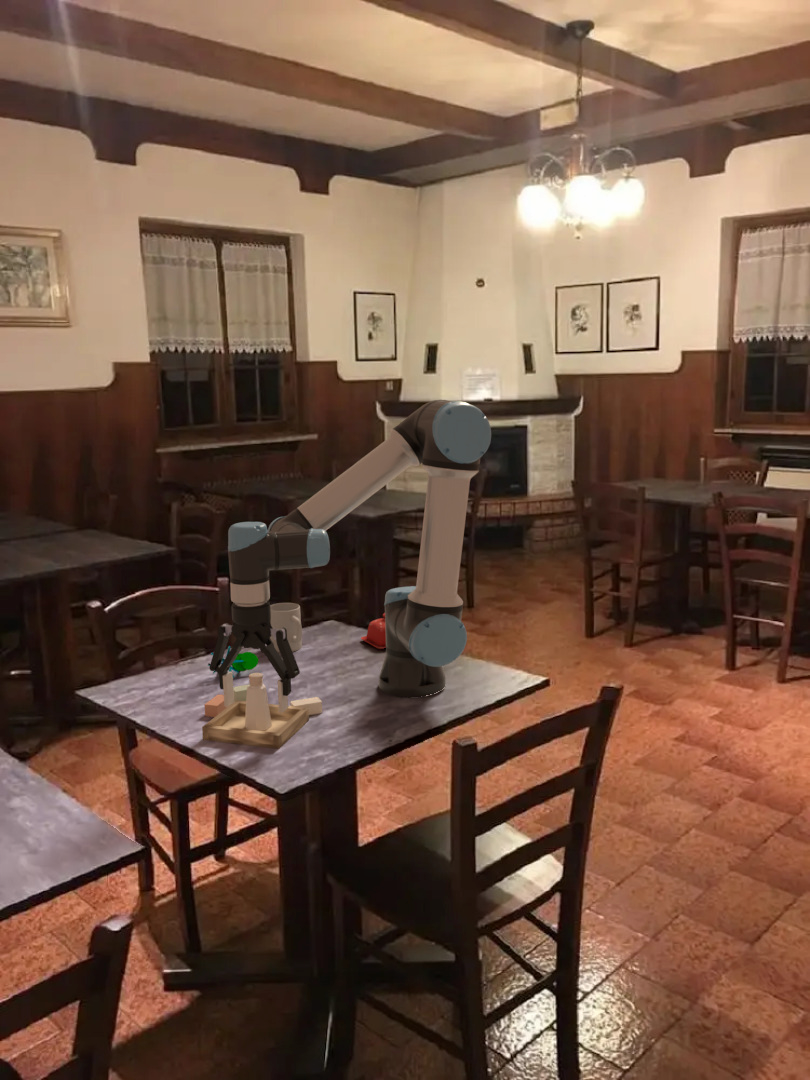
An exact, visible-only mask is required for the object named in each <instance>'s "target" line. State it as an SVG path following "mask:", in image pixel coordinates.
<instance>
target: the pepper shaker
mask: <svg viewBox="0 0 810 1080" xmlns="http://www.w3.org/2000/svg"><path fill="white" fill-rule="evenodd" d="M263 676H264V674H263V673H260V672H252V673H249V675H248V680H249V681H248V683H249V684H250V686H248V687H247V695H246V713H245V727H246V729H249V730H257V731H264V730H267V729H268V728H270V727H271V726H272V723H271V717H270V711H269V704H270V703H269V698H268V693H267V687H266V685H265V684H264V679H263Z"/></svg>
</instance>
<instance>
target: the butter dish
mask: <svg viewBox="0 0 810 1080" xmlns="http://www.w3.org/2000/svg"><path fill="white" fill-rule="evenodd" d="M382 617H383V618H382ZM382 617H381V618H377V619H374V620H372V621H370V622H369V624H368V627H367V633H366V635H365V636H361V637H360V639H361V640H362V641H363V642H366V643H368V644H370V645H371V646H373V647H374V648H375V649H379V650H384V648H386V629H385V612H384V613H383V614H382Z"/></svg>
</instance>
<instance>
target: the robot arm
mask: <svg viewBox="0 0 810 1080" xmlns="http://www.w3.org/2000/svg"><path fill="white" fill-rule="evenodd" d="M491 439H492V429H491V423H490V422H489V419H488V418H487V416H486V415H485V413H484V412H483V411H482V410H481V409H480V408H479V407H477V406H475V405H473V404H470V403H468V402H465V401H462V400H460V401H458V400H456V401H455V400H446V399H435V400H432V401H429V402H427V403H425V404H423V405H422V406H420V407H419V408H418V409H416V410H415V411H414V412H412V413H411V414H410V415H408V416H407V417H406V418H404V420H402V421H401V422H400V423H399V424H397V425H395V427H393V428H392V429H391V430H390V433H389V437H388V438H387V439H386V440H384V441H383V442H381V443H380V444H379V445H377V447H375V448H374V449H372V450H371V451H370V452H368V453H367V454H366V455H364V456H363V457H362V458H361V459H359V460H358V461H357V462H355V463H354V464H353V465H352V466H350V467H348V468H347V469H346V470H345V471H343V472H342V473H341V474H340V475H338V476H337V477H336V478H334V479H333V480H332V481H331V482H329V483H328V484H327V485H326V486H324V487H323V488H321V489H320V490H319V491H317V492H316V493H315V494H313V495H312V496H311V497H310V498H308V499H307V500H306V501H304V502H303V503H302V504H301V505H299V506H297V507H296V509H294V510H292V511H291V512H290V513H288V514H287V515H285V516H280V517H277V518H275V519H274V520H272V522H270V524H269V525H268V527H267V524H266V523H264V522H262V521H242V522H237V523H234V524H232V525H230V527H229V528H228V531H227V532H228V533H227V537H228V538H227V539H228V541H227V544H228V545H227V551H228V566H229V569H228V570H229V580H230V581H229V582H230V583H229V585H230V600H231V602H233V603H232V604H231V620H232V625H231V624H229V623H227V622H225V623H223V624H221V625H220V626H218V628H217V634H218V635H217V637H218V638H217V641H216V645H215V648H214V651H213V653H214V654H213V655H212V658H211V661H210V666H208V667H209V671H210V672H213V671H216V672H215V673H217V674H218V680H219V681H218V682H219V688H220V689H219V690H223V695H224V707H228V706H230V705H231V704H233V703H234V702H235V701H234V691H233V687H234V678H233V675H234V673H233V671H232V672H230V671H229V668H230V667H231V666H232V663H233V662H234V660H235V659H236V657H237V655H238V654H239V653H240V652H241V651H242V649H250V648H251V649H254V650H260V652H261V653H262V654H264V656H265V657H266V658H267V660H268V662H269V663H270V664H271V666H272V667H273V669H274V671H275V672H276V674H277V675H278V676H279V679H278V680H277V698H278V699H277V701H278V704H277V705H279V713H283V712H284V711H285V710H286V709H287V708H288V706H289V701H288V700H289V698H288V697H289V696H290V694H291V693H292V680H293V679H295V678H296V677H297V676H298V675H300V673H301V671H300V668H299V666H298V662H297V661H296V658H295V655H294V652H292V650H291V647H290V645H289V642H288V640H287V629H286V628H284V627H283V628H281V629H273V628H272V626H271V607H270V605H271V602H270V601H269V600H270V598H271V592H270V591H271V590H270V571H280V570H281V571H282V570H293V569H294V570H296V569H306V568H307V569H309V568H310V569H314V568H318V567H323V566H327V565H328V563H329V562H330V556H331V546H330V543H331V542H330V539H329V538H330V537H329V535H328V532H327V530H328V529H330V528H331V527H333V526H334V525H335V524H337V523H338V522H339V521H341V520H342V519H343V518H345V517H346V516H347V515H348V514H349V513H351V512H353V510H355V509H356V508H358V507H359V506H360V505H362V504H363V503H364V502H366V501H367V500H368V499H370V497H372V496H373V495H374V494H376V493H377V492H378V491H380V490H381V489H382V488H384V487H385V486H387V485H388V484H389V483H390V482H391V481H393V480H394V479H395V478H397V477H398V476H399V475H401V474H402V473H403V472H405V471H406V470H407V469H408V468H410V467H412V466H413V467H419V466H420V465H421V464H422V465H421V466H422V468H423V469H424V470H425V471H426V473H427V484H426V495H425V504H424V513H423V522H422V529H421V540H420V549H419V558H418V566H417V574H416V575H417V577H416V585H415V586H414V585H411V586H401V587H400V586H399V587H395V588H394V587H393V588H391V589H389V590H387V591H386V593H385V595H384V604H383V607H384V613H385V629H386V649H385V656H384V659H383V663H382V666H381V669H380V672H379V675H378V689H379V690H380V691H381V692H382V693H384V694H386V695H388V696H391V697H395V696H396V697H395V698H402V697H405V698H406V699H412V698H411V697H420V698H422V697H421V696H426V695H430V694H434V693H436V692H438V691H440V690H442V689H443V688H444V687H445V688H446V686H445V684H446V683H447V682H446V674H445V672H444V669H443V667H444V666H447V665H449V664H451V663H453V662H454V661H455V660H457V659H459V657H460V656H461V655H462V653H463V652H464V650H465V648H466V645H467V642H468V633H467V629H466V626H465V625H464V623H463V622H462V615H463V606H464V601H463V599H462V598H461V596H460V595H459V594H458V587H459V578H460V570H461V561H462V551H463V544H464V534H465V526H466V518H467V517H466V516H467V511H468V510H467V509H468V501H469V492H470V484H471V483H470V482H471V479H472V478H473V477H475V476H476V475H477V474H478V473H480V463H481V458H482V457H483V455H484V454H486V452H487V451H488V449H489V448H490V445H491ZM231 634H232V635H234V637H235V641H234V643H233V644H232V646H231V648H230V652H229V653H228V655H227V654H226V655H227V657H226V656H225V658H224V655H225V651H226V649H227V645H228V641H229V638H230V635H231ZM271 635H273V636H274V640H276V642H277V646H278V648H279V651H280V653H278V652H277V651H276V649H275V648H274V644H273V642H272V641H271V639H270V637H271ZM223 658H224V659H225V660H224V661H223V663H222V659H223ZM221 663H222V665H221ZM407 697H408V698H407ZM405 698H404V699H405Z"/></svg>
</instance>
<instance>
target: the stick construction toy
mask: <svg viewBox="0 0 810 1080" xmlns="http://www.w3.org/2000/svg"><path fill="white" fill-rule="evenodd" d="M230 650H231V646H230V645H229V646H228V647H227V651H226V655H225V658H226V657H227V655H228V653H229V652H230ZM213 654H214V652H211V653H210V654H209V655H210V656H213ZM225 658H224V657H223V659H222V662H221V665H222V663H223V661H224V660H225ZM210 664H211V662H209V663H208V664H207V667H210ZM258 664H259V657H258V656H257V655H256V654H255V653H253V652H251V651H244V652H242V653H240V652H239V654H238V655H237V657H236V659H235V660H234V662H233V663H232V665H231V667H230V668H229V670H228V672H229V671H230V672H232V673H233V672H236V673H237V674H240V673H241V672H242V673H243V672H246V671H251V670H253V669H255V668H256V667H257V665H258ZM215 673H217V672H216V671H212V675H214V674H215ZM234 677H235V675H234V674H233V679H234Z"/></svg>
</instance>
